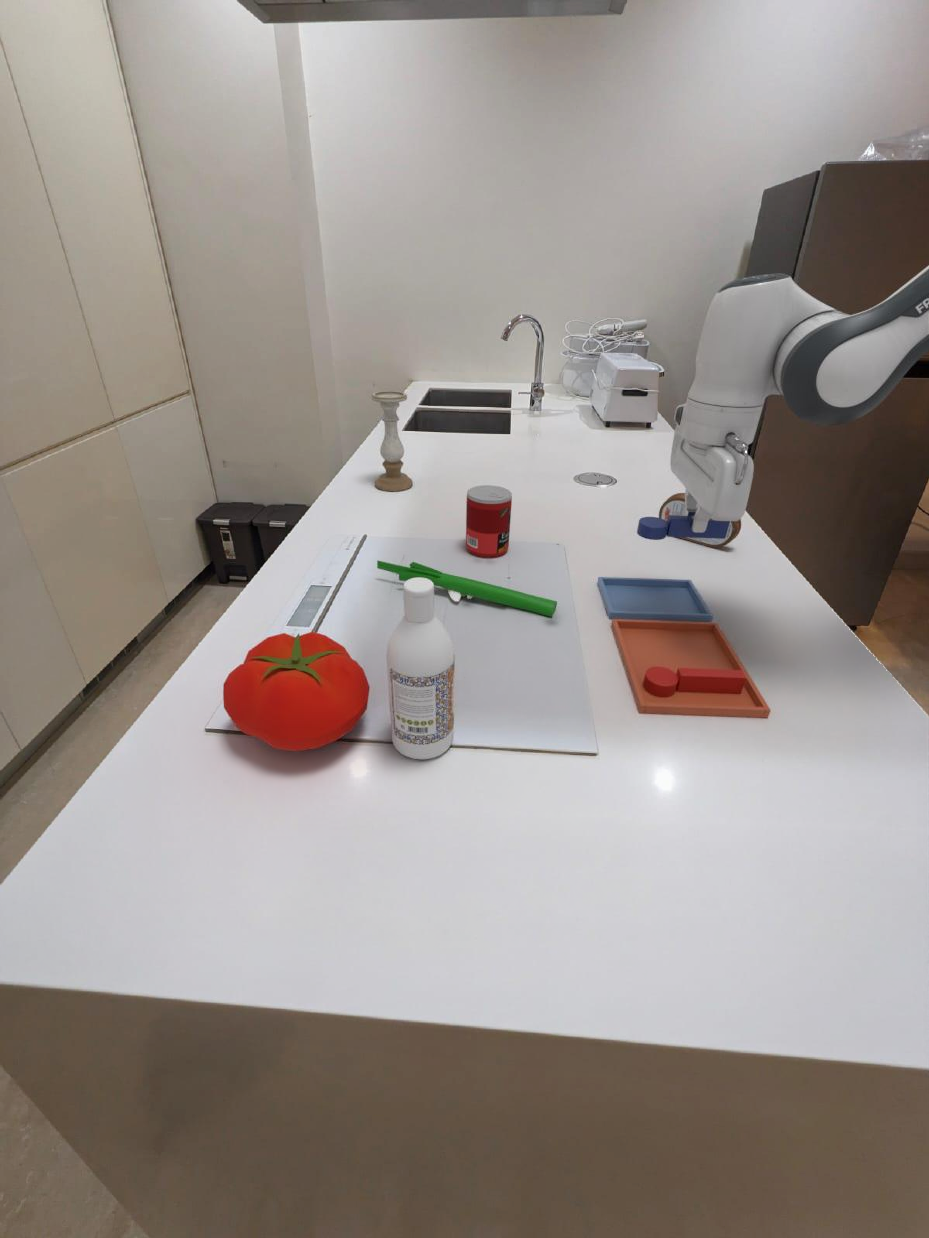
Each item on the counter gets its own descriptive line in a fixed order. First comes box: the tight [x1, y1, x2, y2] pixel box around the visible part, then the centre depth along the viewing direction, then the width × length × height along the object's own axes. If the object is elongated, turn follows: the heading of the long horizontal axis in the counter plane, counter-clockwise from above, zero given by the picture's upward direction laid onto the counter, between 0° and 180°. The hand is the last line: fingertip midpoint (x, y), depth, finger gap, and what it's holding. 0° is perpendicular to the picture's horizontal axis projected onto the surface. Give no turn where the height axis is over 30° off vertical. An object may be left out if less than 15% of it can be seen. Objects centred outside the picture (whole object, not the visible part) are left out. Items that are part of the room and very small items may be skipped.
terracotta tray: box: [610, 619, 771, 719], centre depth 77 cm, size 15×19×2 cm
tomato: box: [222, 631, 370, 752], centre depth 65 cm, size 14×16×10 cm
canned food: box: [465, 484, 513, 559], centre depth 104 cm, size 8×8×11 cm
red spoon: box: [643, 666, 746, 697], centre depth 73 cm, size 12×4×3 cm, turn 88°
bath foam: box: [386, 577, 456, 760], centre depth 60 cm, size 7×7×20 cm
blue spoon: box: [636, 515, 730, 541], centre depth 80 cm, size 12×4×3 cm, turn 88°
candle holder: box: [371, 390, 414, 492], centre depth 130 cm, size 9×9×20 cm
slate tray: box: [596, 576, 713, 622], centre depth 91 cm, size 15×11×2 cm
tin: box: [658, 492, 742, 548], centre depth 110 cm, size 15×3×8 cm, turn 51°
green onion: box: [376, 560, 558, 618], centre depth 91 cm, size 5×3×30 cm
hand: (693, 526), depth 80 cm, fingers closed on blue spoon
